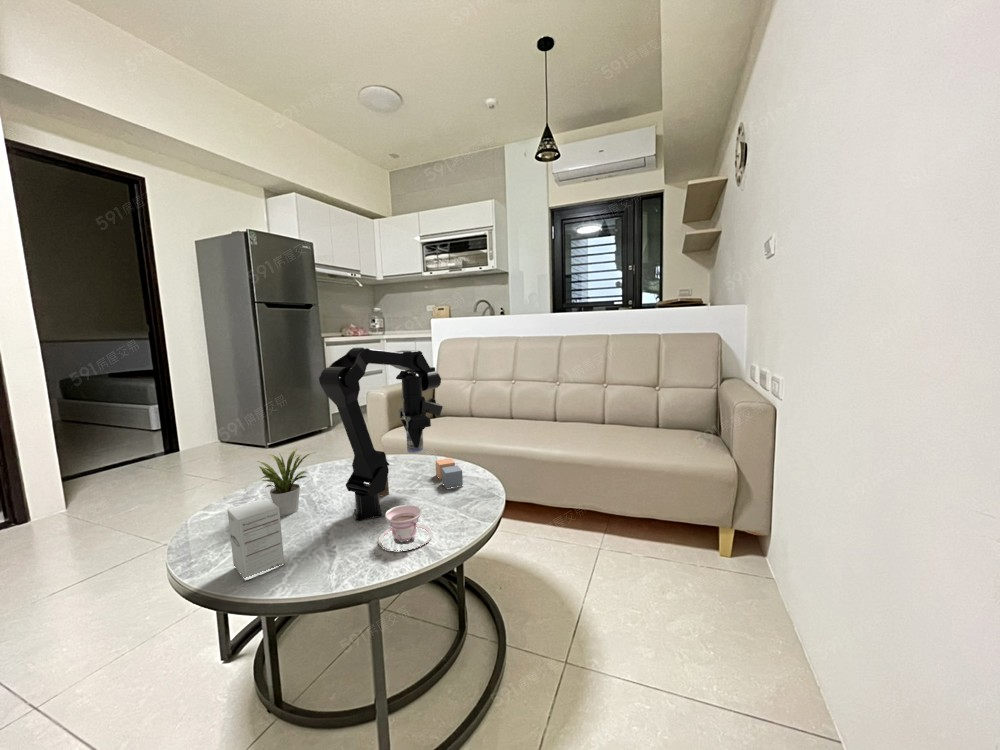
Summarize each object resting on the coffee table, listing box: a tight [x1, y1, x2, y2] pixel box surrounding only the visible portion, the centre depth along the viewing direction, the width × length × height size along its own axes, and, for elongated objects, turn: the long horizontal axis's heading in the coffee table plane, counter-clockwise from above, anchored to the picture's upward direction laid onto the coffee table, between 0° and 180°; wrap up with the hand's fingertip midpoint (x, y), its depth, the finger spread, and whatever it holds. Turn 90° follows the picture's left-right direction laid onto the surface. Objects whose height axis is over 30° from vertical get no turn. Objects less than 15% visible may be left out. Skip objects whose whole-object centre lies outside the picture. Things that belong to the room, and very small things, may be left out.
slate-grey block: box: [441, 464, 464, 490], centre depth 119 cm, size 5×5×5 cm
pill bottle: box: [405, 430, 424, 454], centre depth 117 cm, size 5×5×8 cm
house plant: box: [256, 448, 317, 517], centre depth 105 cm, size 14×14×16 cm
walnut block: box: [368, 477, 390, 497], centre depth 115 cm, size 5×5×5 cm
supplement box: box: [227, 497, 285, 578], centre depth 79 cm, size 7×7×13 cm
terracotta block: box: [435, 457, 456, 481], centre depth 126 cm, size 5×5×5 cm
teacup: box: [377, 504, 433, 551], centre depth 89 cm, size 12×12×6 cm
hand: (415, 445), depth 117 cm, fingers closed on pill bottle, 5 cm apart
